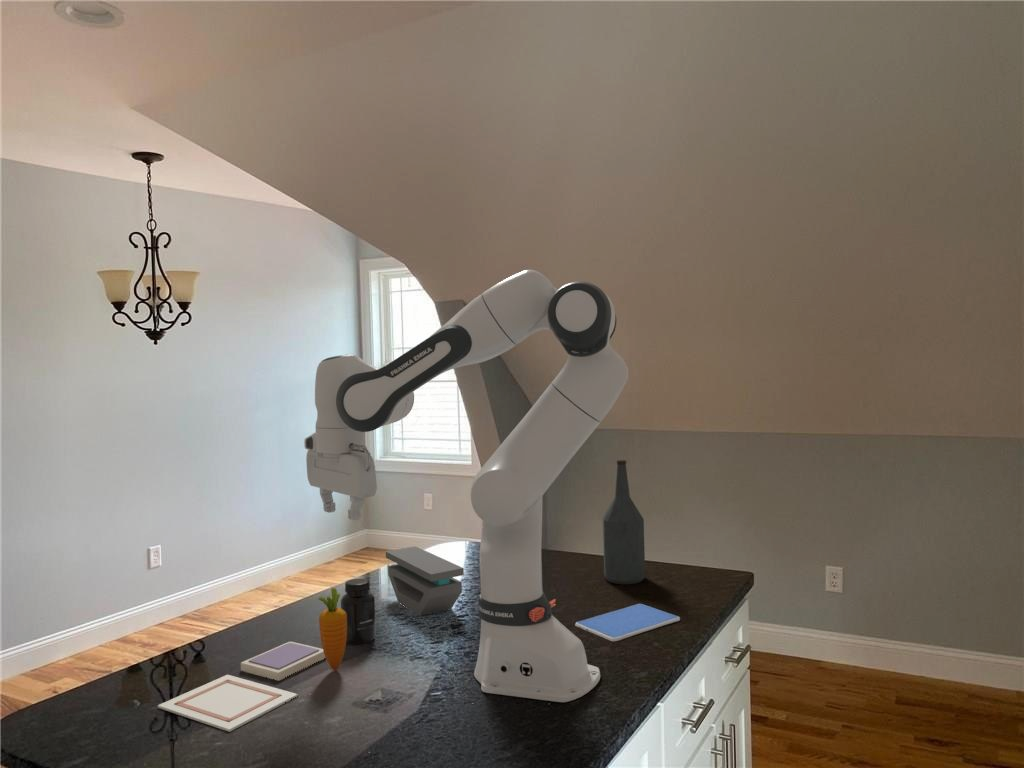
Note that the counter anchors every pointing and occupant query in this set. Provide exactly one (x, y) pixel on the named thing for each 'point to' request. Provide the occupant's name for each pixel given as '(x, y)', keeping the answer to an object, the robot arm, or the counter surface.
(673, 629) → the counter surface
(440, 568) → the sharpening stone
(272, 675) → the ink pad
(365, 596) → the supplement bottle
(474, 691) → the counter surface
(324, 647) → the carrot
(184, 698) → the print card
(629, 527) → the bottle
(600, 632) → the tablet computer
